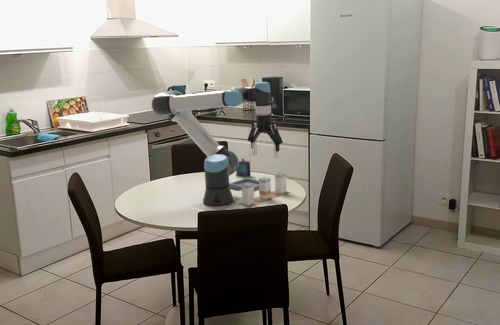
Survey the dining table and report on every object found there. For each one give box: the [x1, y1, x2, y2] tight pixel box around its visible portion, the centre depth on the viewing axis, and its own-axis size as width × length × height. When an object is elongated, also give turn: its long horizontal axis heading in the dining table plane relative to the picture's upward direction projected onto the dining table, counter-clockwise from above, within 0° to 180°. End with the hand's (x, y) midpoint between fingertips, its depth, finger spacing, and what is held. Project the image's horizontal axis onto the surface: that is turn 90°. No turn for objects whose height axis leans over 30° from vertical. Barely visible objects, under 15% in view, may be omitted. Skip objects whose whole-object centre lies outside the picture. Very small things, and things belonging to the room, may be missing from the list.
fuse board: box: [238, 190, 291, 208], centre depth 254 cm, size 30×8×1 cm, turn 135°
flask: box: [235, 157, 251, 178], centre depth 300 cm, size 9×3×11 cm, turn 65°
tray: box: [229, 177, 259, 191], centre depth 276 cm, size 14×16×2 cm
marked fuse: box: [258, 176, 272, 200], centre depth 253 cm, size 4×4×10 cm
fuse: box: [241, 182, 255, 207], centre depth 244 cm, size 4×4×10 cm
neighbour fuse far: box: [274, 171, 288, 194], centre depth 261 cm, size 4×4×10 cm
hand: (265, 156), depth 252 cm, fingers open, 13 cm apart
